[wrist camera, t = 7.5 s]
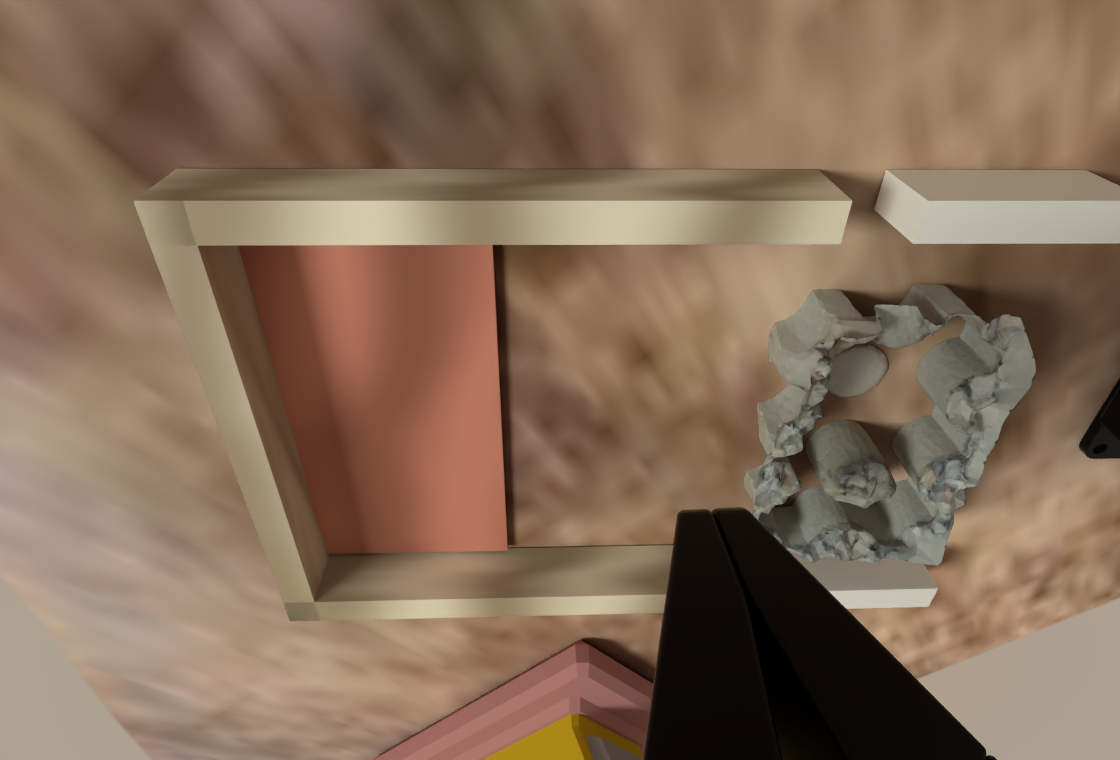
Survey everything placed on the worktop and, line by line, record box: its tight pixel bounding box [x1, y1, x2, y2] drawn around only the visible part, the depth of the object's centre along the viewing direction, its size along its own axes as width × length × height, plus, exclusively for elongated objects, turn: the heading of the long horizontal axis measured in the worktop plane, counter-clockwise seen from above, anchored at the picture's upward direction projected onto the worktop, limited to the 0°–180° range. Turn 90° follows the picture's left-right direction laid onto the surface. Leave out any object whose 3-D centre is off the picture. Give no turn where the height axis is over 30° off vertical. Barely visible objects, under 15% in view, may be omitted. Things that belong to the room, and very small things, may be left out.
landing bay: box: [790, 170, 1120, 609], centre depth 23 cm, size 6×17×2 cm, turn 179°
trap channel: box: [134, 169, 852, 621], centre depth 23 cm, size 18×17×2 cm
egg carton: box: [744, 283, 1036, 566], centre depth 23 cm, size 11×8×4 cm
